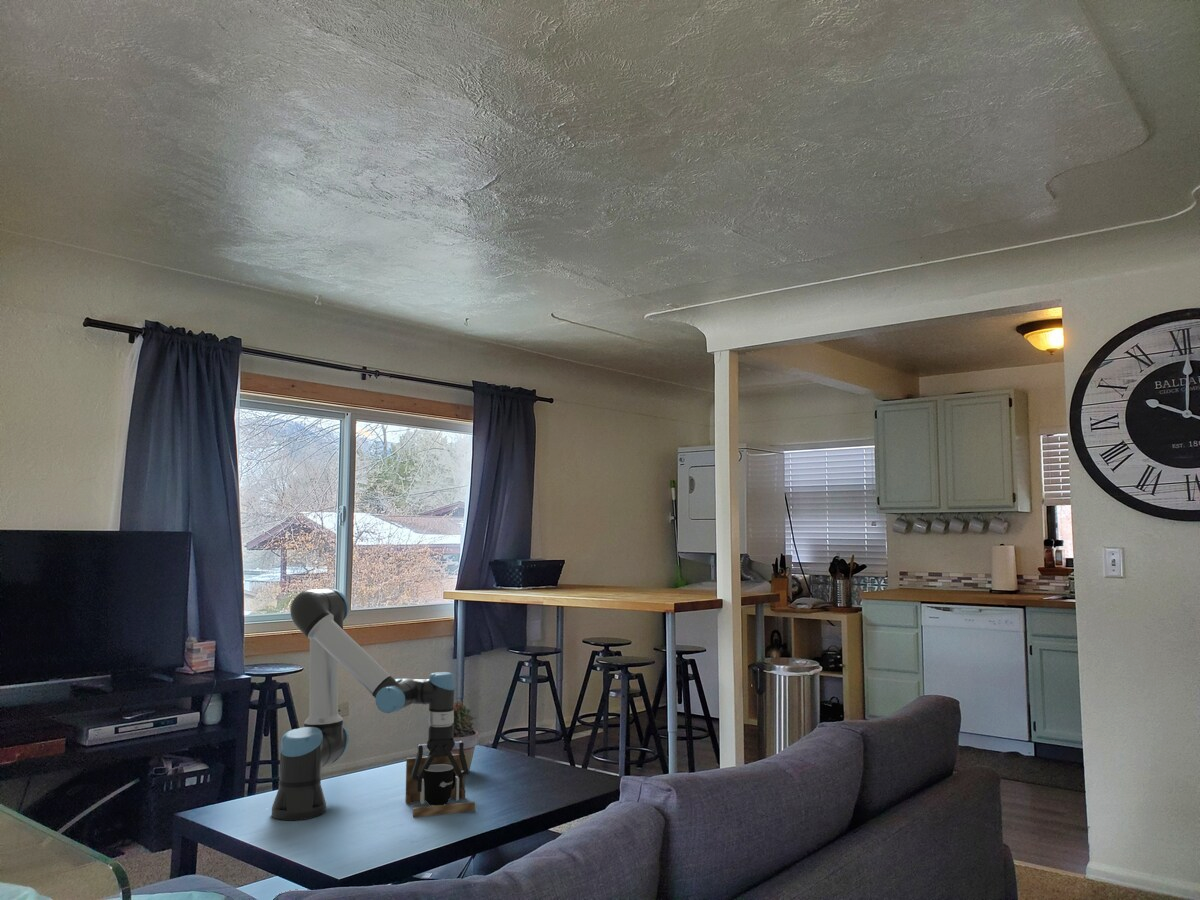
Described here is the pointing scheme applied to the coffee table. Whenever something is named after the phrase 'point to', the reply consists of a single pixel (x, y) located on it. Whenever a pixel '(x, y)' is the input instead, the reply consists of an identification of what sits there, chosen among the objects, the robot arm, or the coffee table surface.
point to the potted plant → (464, 732)
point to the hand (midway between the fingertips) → (439, 800)
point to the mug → (438, 783)
